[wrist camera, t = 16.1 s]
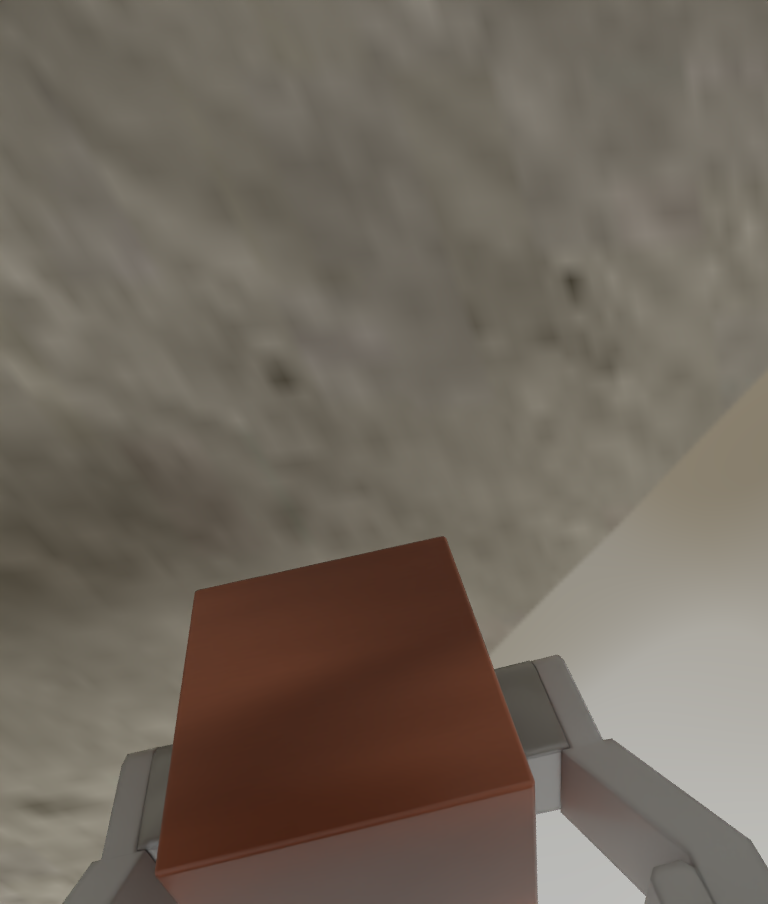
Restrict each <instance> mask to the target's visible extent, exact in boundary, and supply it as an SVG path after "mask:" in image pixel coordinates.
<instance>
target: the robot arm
mask: <svg viewBox="0 0 768 904" xmlns="http://www.w3.org/2000/svg"><path fill="white" fill-rule="evenodd" d="M494 671H495V673H496V676H497V679H498V682H499V684H500V687H501V690H502V692H503V695H504V698H505V701H506V703H507V706H508V709H509V712H510V714H511V717H512V720H513V723H514V725H515V728H516V731H517V734H518V736H519V739H520V742H521V744H522V747H523V750H524V753H525V755H526V758H527V761H528V764H529V766H530V769H531V772H532V775H533V777H534V780H535V809H536V814H540V813H544V812H549V811H554V810H558V809H561V813H562V814H563V815H565V816H566V818H567V819H568V820H569V821H571V823H573V824H574V825H575V826H576V827H577V828H578V829H579V830H580V831H581V832H582V833H583V834H584V835H585V836H586V837H587V838H588V839H589V840H590V841H591V842H592V843H593V844H594V845H595V846H596V847H597V848H598V849H599V850H600V851H601V852H602V853H603V854H604V855H605V856H606V857H607V858H608V859H609V860H610V861H611V862H612V863H613V864H614V865H615V866H616V867H617V868H618V869H619V870H620V871H621V872H622V873H623V874H624V875H625V876H626V877H627V878H628V879H629V880H630V881H631V882H632V883H633V884H635V886H636V887H637V888H638V889H639V890H640V891H641V892H643V894H645V896H646V900H645V904H768V868H767V866H766V864H765V863H764V861H763V859H762V858H761V856H760V854H759V853H758V851H757V850H756V848H755V846H754V845H753V843H752V841H751V840H750V839H748V838H747V837H745V836H744V835H743V834H742V833H740V832H739V831H737V830H736V829H735V828H733V827H732V826H731V825H729V824H728V823H726V822H725V821H724V820H722V819H721V818H720V817H718V816H717V815H716V814H714V813H713V812H712V811H710V810H709V809H707V808H706V807H704V806H703V805H702V804H700V803H699V802H698V801H696V800H695V799H694V798H692V797H691V796H690V795H688V794H687V793H685V792H684V791H683V790H681V789H680V788H679V787H677V786H676V785H675V784H673V783H672V782H670V781H669V780H668V779H666V778H665V777H663V776H662V775H661V774H660V773H658V772H657V771H655V770H654V769H653V768H651V767H650V766H649V765H647V764H646V763H645V762H643V761H642V760H640V759H639V758H638V757H636V756H635V755H634V754H632V753H631V752H629V751H628V750H626V749H625V748H624V747H622V746H621V745H620V744H619V743H617V742H616V741H614V740H613V739H607V740H603V739H602V737H601V735H600V732H599V731H598V729H597V726H596V724H595V723H594V720H593V718H592V716H591V714H590V712H589V710H588V708H587V706H586V704H585V703H584V700H583V698H582V696H581V694H580V692H579V690H578V688H577V686H576V684H575V682H574V680H573V678H572V675H571V673H570V671H569V669H568V667H567V665H566V663H565V661H564V660H563V659H562V658H561V657H560V656H559V655H554V656H550V657H546V658H542V659H538V660H534V661H526V662H522V663H518V664H514V665H510V666H506V667H502V668H498V669H494ZM172 748H173V744H172V745H167V746H162V747H156V748H152V749H148V750H143V751H139V752H135V753H131V754H128V755H127V756H126V758H125V760H124V762H123V764H122V766H121V771H120V776H119V780H118V785H117V789H116V794H115V799H114V803H113V808H112V812H111V817H110V822H109V826H108V831H107V835H106V840H105V845H104V849H103V854H102V859H101V860H99V861H95V862H92V863H91V865H90V866H89V867H88V869H87V870H86V872H85V873H84V874H83V876H82V877H81V878H80V880H79V881H78V883H77V884H76V885H75V887H74V888H73V890H72V891H71V892H70V894H69V895H68V896H67V898H66V899H65V901H64V902H63V903H62V904H177V903H176V901H175V900H174V899H173V898H172V897H171V895H170V894H169V893H168V892H167V890H166V889H165V888H164V887H163V886H162V884H161V883H160V882H159V881H158V879H157V878H156V877H155V866H156V859H157V852H158V845H159V838H160V831H161V824H162V817H163V810H164V803H165V796H166V789H167V782H168V776H169V769H170V762H171V755H172Z"/></svg>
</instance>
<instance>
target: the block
mask: <svg viewBox="0 0 768 904" xmlns="http://www.w3.org/2000/svg"><path fill="white" fill-rule="evenodd" d="M155 877H156V878H157V879H158V881H159V882H160V883H161V884H162V886H163V887H164V888H165V889H166V890H167V892H168V893H169V894H170V895H171V897H172V898H173V899H174V900H175V901H176V903H177V904H538V895H537V855H536V809H535V780H534V777H533V775H532V772H531V769H530V766H529V764H528V761H527V758H526V755H525V753H524V750H523V747H522V744H521V742H520V739H519V736H518V734H517V731H516V728H515V725H514V723H513V720H512V717H511V714H510V712H509V709H508V706H507V703H506V701H505V698H504V695H503V692H502V690H501V687H500V684H499V682H498V679H497V676H496V673H495V671H494V668H493V665H492V662H491V660H490V657H489V654H488V651H487V649H486V646H485V643H484V640H483V638H482V635H481V632H480V629H479V627H478V624H477V621H476V619H475V616H474V613H473V610H472V608H471V605H470V602H469V599H468V597H467V594H466V591H465V588H464V586H463V583H462V580H461V577H460V575H459V572H458V569H457V566H456V564H455V561H454V558H453V556H452V553H451V550H450V547H449V545H448V542H447V539H446V538H445V537H444V536H441V537H436V538H432V539H427V540H423V541H418V542H413V543H409V544H404V545H400V546H395V547H391V548H386V549H382V550H377V551H373V552H368V553H364V554H359V555H355V556H350V557H345V558H341V559H336V560H332V561H327V562H323V563H318V564H314V565H309V566H305V567H300V568H296V569H291V570H287V571H282V572H278V573H273V574H268V575H264V576H259V577H255V578H250V579H246V580H241V581H237V582H232V583H228V584H223V585H219V586H214V587H210V588H205V589H200V590H197V591H196V592H195V595H194V602H193V609H192V616H191V623H190V630H189V637H188V644H187V651H186V658H185V665H184V672H183V678H182V685H181V692H180V699H179V706H178V713H177V720H176V727H175V734H174V741H173V748H172V755H171V762H170V769H169V776H168V782H167V789H166V796H165V803H164V810H163V817H162V824H161V831H160V838H159V845H158V852H157V859H156V866H155Z"/></svg>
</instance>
